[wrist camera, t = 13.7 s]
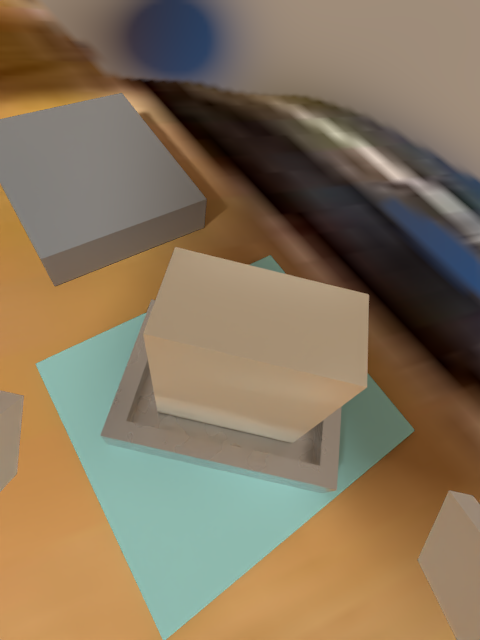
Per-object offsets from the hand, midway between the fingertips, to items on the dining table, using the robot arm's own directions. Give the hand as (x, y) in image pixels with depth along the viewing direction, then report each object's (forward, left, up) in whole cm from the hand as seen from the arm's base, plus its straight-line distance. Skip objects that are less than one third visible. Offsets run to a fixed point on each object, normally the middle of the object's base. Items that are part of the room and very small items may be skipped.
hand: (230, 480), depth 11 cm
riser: (+4, +24, -11) cm, 27 cm away
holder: (+4, +4, -11) cm, 12 cm away
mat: (+4, +4, -11) cm, 12 cm away
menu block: (+4, +4, -10) cm, 11 cm away
